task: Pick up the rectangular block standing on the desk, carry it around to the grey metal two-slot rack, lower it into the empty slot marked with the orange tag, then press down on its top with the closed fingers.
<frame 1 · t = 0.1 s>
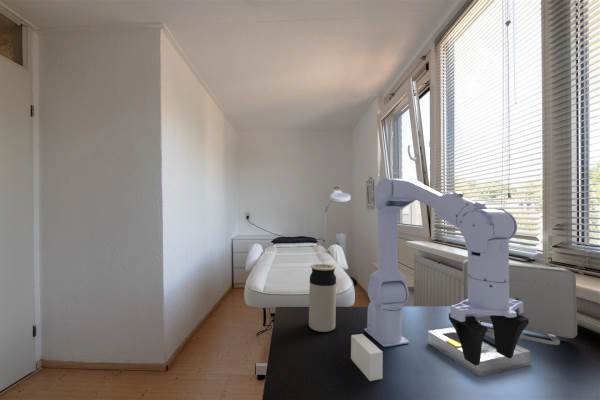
hand: (488, 358, 43), 10 cm above the table, tool pointing down, fingers open, 7 cm apart
travel mug: (321, 327, 75), on the table
network device: (514, 332, 74), on the table
rectangular block: (365, 368, 55), on the table
rack: (475, 353, 62), on the table
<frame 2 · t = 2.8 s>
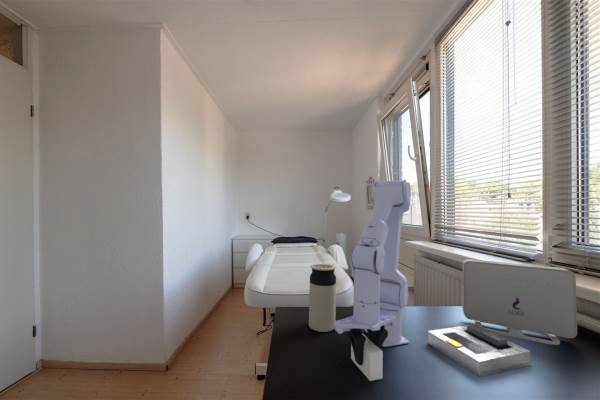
hand: (365, 361, 55), 1 cm above the table, tool pointing down, fingers closed on rectangular block, 3 cm apart
rectangular block: (365, 367, 55), on the table, touching gripper
everything else where it was.
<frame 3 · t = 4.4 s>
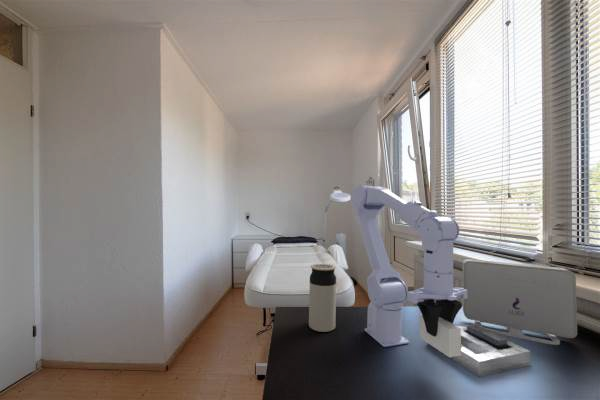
hand: (438, 333, 55), 8 cm above the table, tool pointing down, fingers closed on rectangular block, 3 cm apart
rectangular block: (439, 345, 54), point 6 cm above the table, touching gripper
everything else where it was.
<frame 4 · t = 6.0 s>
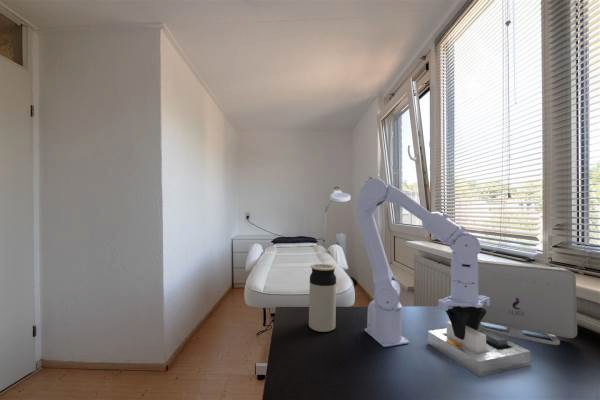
hand: (464, 336, 61), 5 cm above the table, tool pointing down, fingers closed on rectangular block, 3 cm apart
rectangular block: (465, 350, 61), point 1 cm above the table, touching gripper
everything else where it was.
when the fingers open (4 cm above the table, at t = 6.5 s): rectangular block stays where it is, resting on rack.
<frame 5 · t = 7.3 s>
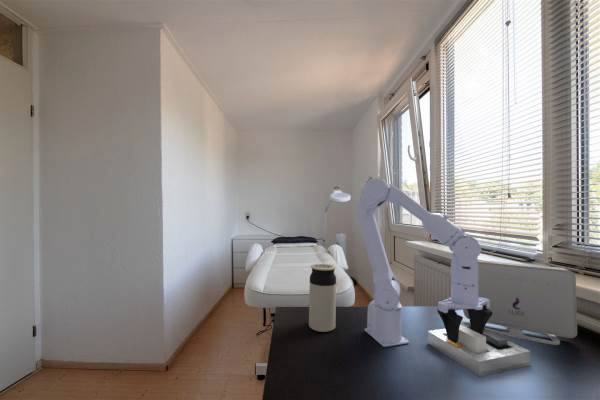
hand: (464, 338, 61), 4 cm above the table, tool pointing down, fingers open, 7 cm apart
rectangular block: (465, 352, 61), point 1 cm above the table, touching rack
everything else where it was.
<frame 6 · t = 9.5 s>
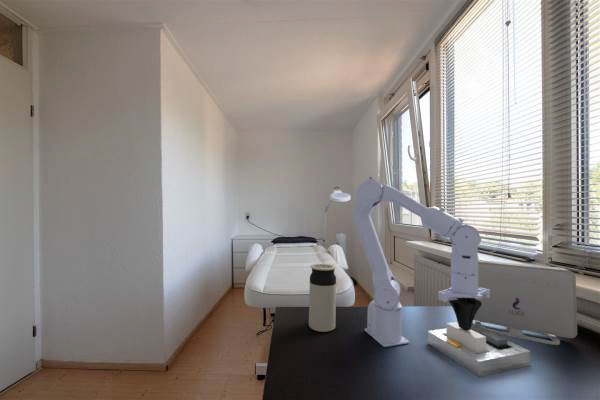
hand: (464, 328, 61), 7 cm above the table, tool pointing down, fingers closed
nothing on the table moved.
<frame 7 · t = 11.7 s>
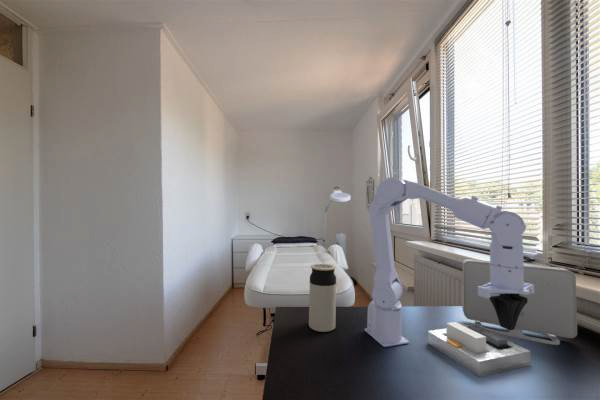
hand: (507, 328, 55), 10 cm above the table, tool pointing down, fingers closed
nothing on the table moved.
at the end: rectangular block 0.1 cm from the target spot on the rack, point 0.8 cm above the rack's base; rectangular block tilted 0°; the gripper is holding nothing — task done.
